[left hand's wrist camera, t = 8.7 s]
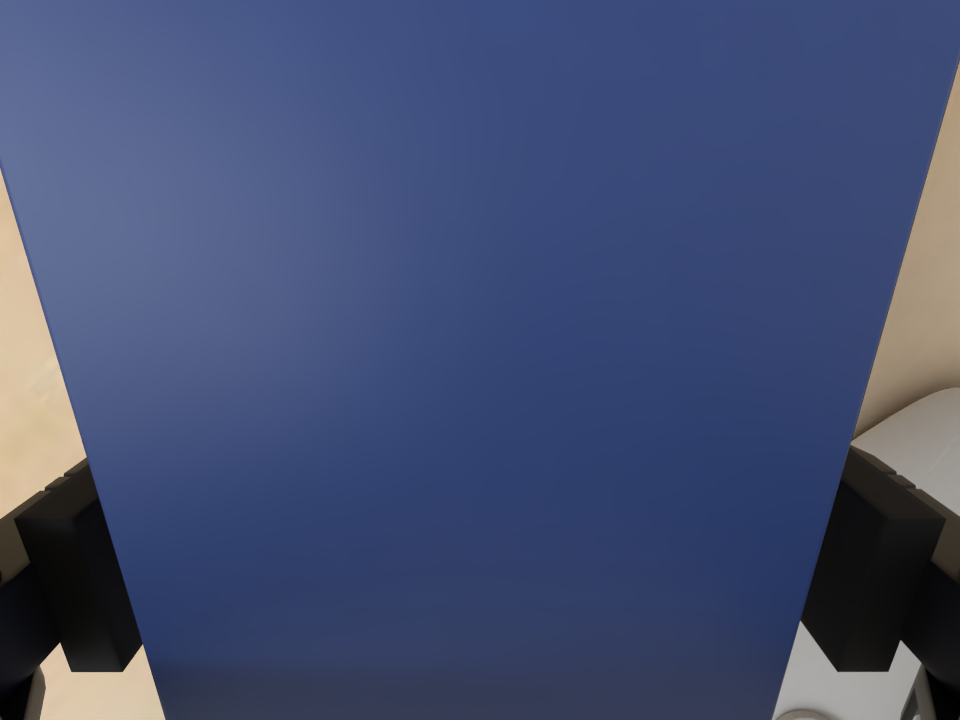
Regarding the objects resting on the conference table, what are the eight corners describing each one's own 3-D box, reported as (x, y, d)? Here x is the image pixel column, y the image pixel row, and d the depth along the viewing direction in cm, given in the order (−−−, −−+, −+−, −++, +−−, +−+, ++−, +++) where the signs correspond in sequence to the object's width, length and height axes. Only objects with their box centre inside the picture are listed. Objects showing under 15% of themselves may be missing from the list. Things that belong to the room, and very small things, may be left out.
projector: (1016, 667, 32) (1426, 1044, 18) (655, 742, 34) (773, 1125, 20) (1037, 348, 24) (1750, 570, 11) (577, 471, 27) (679, 781, 13)
